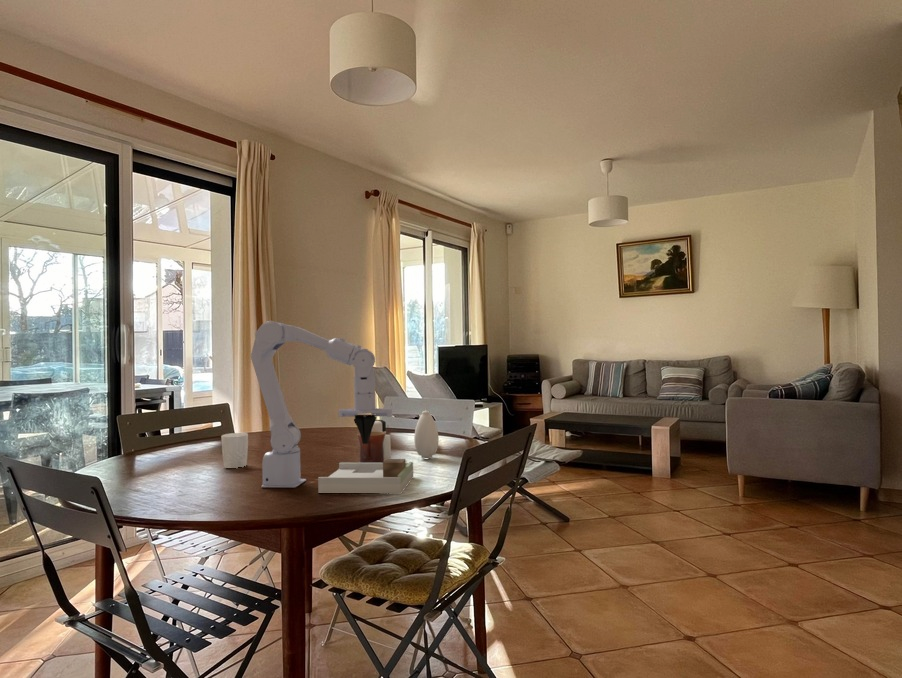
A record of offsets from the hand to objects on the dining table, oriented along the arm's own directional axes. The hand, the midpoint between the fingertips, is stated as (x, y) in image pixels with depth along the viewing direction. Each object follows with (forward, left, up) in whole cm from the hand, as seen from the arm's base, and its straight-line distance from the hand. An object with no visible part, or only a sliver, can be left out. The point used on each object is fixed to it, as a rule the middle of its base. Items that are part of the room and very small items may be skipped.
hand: (365, 443), depth 154 cm
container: (-4, +27, -11) cm, 29 cm away
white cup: (-47, +18, -11) cm, 51 cm away
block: (+9, -4, -8) cm, 12 cm away
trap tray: (+2, -4, -10) cm, 11 cm away
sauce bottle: (+12, +30, -11) cm, 34 cm away
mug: (-3, +16, -11) cm, 19 cm away
